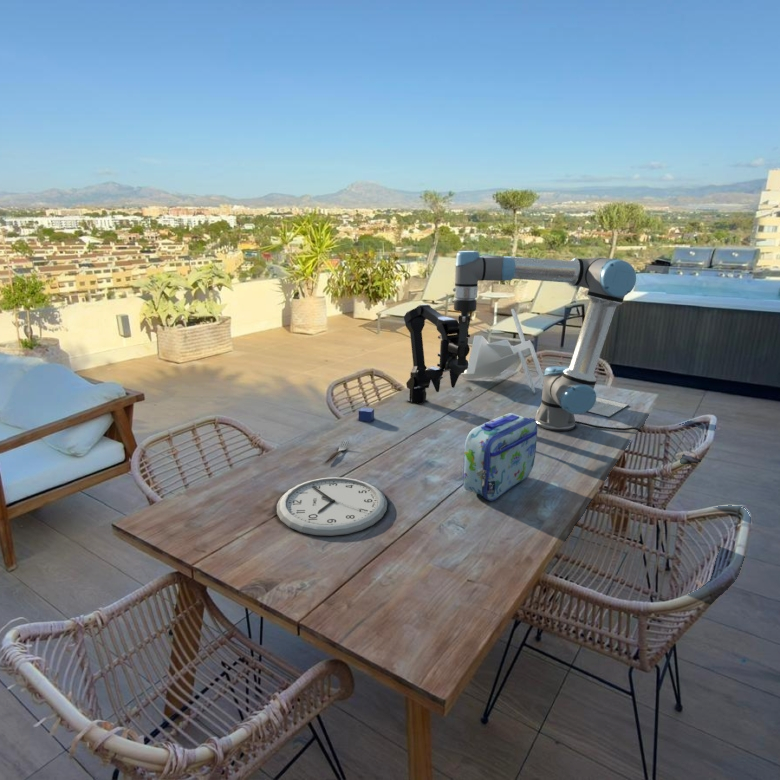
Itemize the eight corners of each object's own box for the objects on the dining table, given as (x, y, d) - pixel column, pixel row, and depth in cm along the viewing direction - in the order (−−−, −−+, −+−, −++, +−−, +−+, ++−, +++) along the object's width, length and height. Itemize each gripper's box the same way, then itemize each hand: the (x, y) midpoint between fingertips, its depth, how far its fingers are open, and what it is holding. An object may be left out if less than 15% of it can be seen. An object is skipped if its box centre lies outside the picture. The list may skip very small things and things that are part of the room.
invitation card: (608, 416, 214) (573, 407, 224) (608, 416, 214) (573, 408, 224) (628, 404, 229) (594, 396, 238) (628, 405, 229) (594, 397, 238)
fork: (322, 463, 168) (321, 457, 167) (343, 444, 182) (343, 439, 181) (329, 464, 167) (329, 458, 166) (349, 446, 181) (349, 440, 180)
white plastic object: (480, 422, 262) (459, 399, 237) (462, 348, 284) (440, 320, 259) (552, 397, 249) (538, 371, 225) (527, 322, 271) (511, 291, 247)
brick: (361, 417, 209) (361, 407, 208) (374, 418, 208) (374, 408, 207) (358, 420, 205) (358, 410, 204) (371, 421, 204) (371, 412, 203)
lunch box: (487, 508, 142) (493, 436, 136) (456, 493, 150) (460, 425, 143) (537, 478, 160) (544, 414, 154) (507, 466, 167) (513, 405, 161)
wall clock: (392, 527, 129) (268, 531, 127) (391, 533, 130) (269, 537, 127) (383, 473, 158) (282, 475, 155) (383, 478, 158) (282, 480, 156)
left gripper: (446, 359, 192) (444, 399, 197) (478, 352, 204) (475, 390, 209) (425, 353, 200) (423, 392, 205) (457, 346, 212) (454, 383, 217)
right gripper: (456, 293, 187) (453, 351, 194) (451, 303, 164) (449, 368, 170) (477, 294, 186) (474, 352, 192) (475, 304, 162) (472, 370, 169)
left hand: (445, 389), depth 209 cm, fingers open, 9 cm apart
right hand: (462, 360), depth 181 cm, fingers open, 13 cm apart
